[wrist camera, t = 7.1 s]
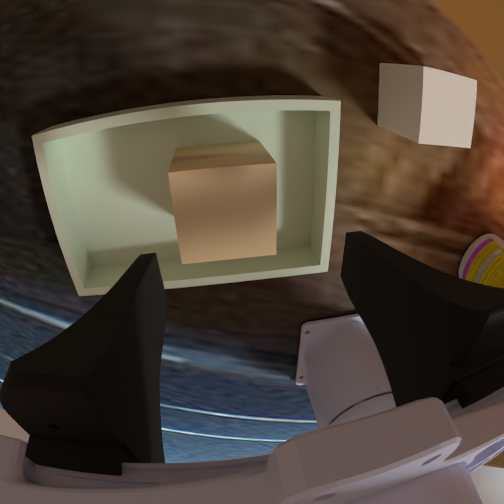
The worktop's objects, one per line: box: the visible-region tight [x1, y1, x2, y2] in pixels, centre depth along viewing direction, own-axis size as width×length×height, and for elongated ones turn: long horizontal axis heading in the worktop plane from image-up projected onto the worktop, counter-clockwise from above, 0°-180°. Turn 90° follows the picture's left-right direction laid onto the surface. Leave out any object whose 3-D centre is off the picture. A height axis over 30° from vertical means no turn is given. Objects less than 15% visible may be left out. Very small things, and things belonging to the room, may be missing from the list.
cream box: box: [377, 63, 477, 148], centre depth 17 cm, size 4×4×5 cm
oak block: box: [168, 141, 277, 264], centre depth 18 cm, size 5×5×5 cm
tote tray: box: [32, 95, 341, 296], centre depth 19 cm, size 11×17×3 cm, turn 91°
